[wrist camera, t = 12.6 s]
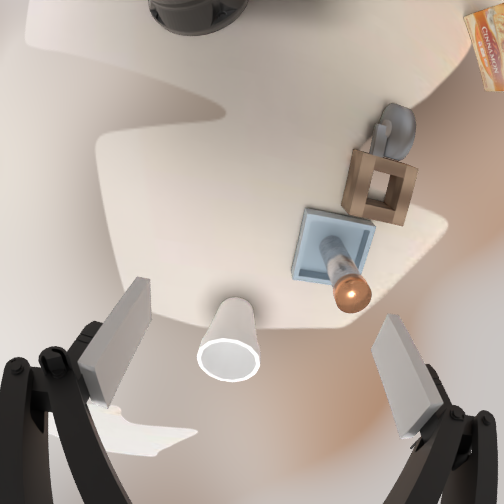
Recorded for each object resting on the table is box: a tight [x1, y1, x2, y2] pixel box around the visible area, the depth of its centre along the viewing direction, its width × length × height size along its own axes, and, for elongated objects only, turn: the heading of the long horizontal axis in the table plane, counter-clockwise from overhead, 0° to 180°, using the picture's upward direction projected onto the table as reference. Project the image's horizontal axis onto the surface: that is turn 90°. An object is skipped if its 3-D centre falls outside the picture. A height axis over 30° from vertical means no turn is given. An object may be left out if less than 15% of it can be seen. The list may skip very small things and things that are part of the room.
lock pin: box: [319, 236, 372, 313], centre depth 40 cm, size 4×4×15 cm
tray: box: [291, 208, 376, 285], centre depth 46 cm, size 11×11×3 cm
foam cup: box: [197, 297, 261, 382], centre depth 48 cm, size 10×9×13 cm
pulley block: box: [341, 103, 418, 226], centre depth 38 cm, size 17×9×8 cm, turn 171°
